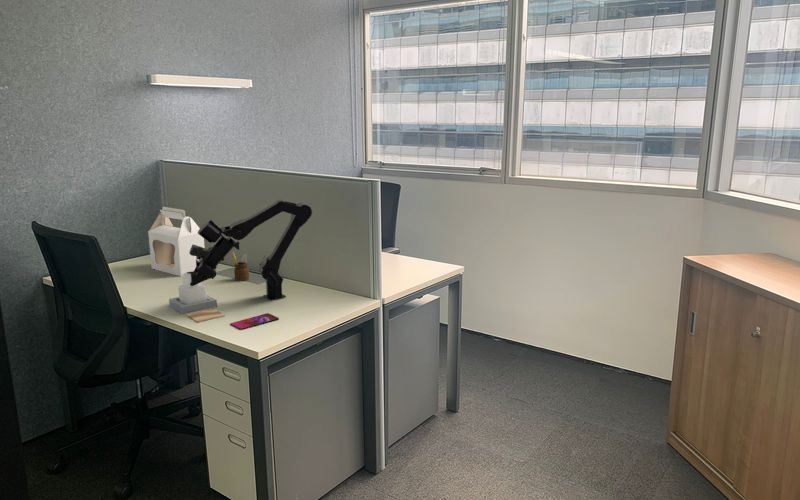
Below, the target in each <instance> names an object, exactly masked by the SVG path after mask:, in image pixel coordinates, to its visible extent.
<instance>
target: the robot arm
mask: <svg viewBox="0 0 800 500" xmlns="http://www.w3.org/2000/svg"><path fill="white" fill-rule="evenodd" d="M282 212H283V213H288V214H290V220H289V222H288V224H287V226H286V228H285V230H284V231H283V233H282V235H281V237H280V238H279V240H278V242H277V243H276V245H275V247H274V248H273V251H272V252H271V254H270V255H268V256H266V255H264V256H263V257H262V260H261V261H260V263H258V265H259V267H258V268H259V269H258V271H259V274H260V275H261V277H262V278H263V280H265V283H266V285H265V287H266V290H265V291H266V294H264V295H263V298H266V299H268V300H270V301H274V300H279V299H282V298H286V297H287V296H286V294H283V286H282V285H283V281H284V278H283V276H282V275H281V274H280V272H279V270H280V267H281V262H282V260H283V257H284V256H285V255H286V253H287V251H288V249H289V247H290V245H291V244H292V242H293V240H294V239H295V236H296V235H297V233H299V232H298V231H299V230H300V229H301V227H303V226H304V225H305V224H306V223H307V222H308V221H309V219H311V218H312V215H313V211H312V208H311V206H309V205H308V204H307V203H304V202H298V203H295V202H291V201H286V200H284V199H278V200H276V201H275V202H274V203H272V204H270V205H268V206H266V207H265V208H263V209H261V210H260V211H258V212H256V213H255V214H253V215H251V216H250V217H249V216H248V217H246V218H242V219H239V220H237V221H234V222H232V223H230V225H227V226H223V227H220V226H219V225H217V224H216V223H215V222H214V221H213V220H212V219H209V220H208V221H207V222H205V223H204V224H203V225H202V226H201V227H199V228H200V229H199V231H198V234H199V235H200V236H202V237H203V238H204V241H205V240H206V241H207V242H208V243H209V244H211V243H213V245H212V246H209V247H208V248H203V247H200V246H197V245H193V244H192V247H191V249H190V252H189V253H190V255H192V256H197V257H196V259H197V260H198V259H199V260H198V261H197V260H196V268H195V270H194V272H197V274H196V275H195V277H194V278H193V280H192V282H191V283H190V285H191V286H194V285H196V284H198V283H200V284H202V283H203V282H205V281H207V280H210V279H211V280H213V279H215V278H216V276H217V270H216V269H217V268H218V267H217V266H218V265H219V264H220V263H221V262H224V261H225V257H226V256H227V255H228V254H229V253H230V252H231V251H232V250H233V249H234V248H235V249H236V250H238V251H239V250H240V240H243V239H245V238H246V237H247V236H249V234H250V233H252V232H253V230H255V228H257V227H259V226H260V225H262V224H264V223H265V222H267V221H269V220H270V219H272V218H273V217H275V216H277V215H279V214H280V213H282Z"/></svg>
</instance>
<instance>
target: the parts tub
mask: <svg viewBox="0 0 800 500" xmlns="http://www.w3.org/2000/svg"><path fill="white" fill-rule="evenodd" d="M168 303H169V306H170V307H171V308H173V309H175V310H177V311H178V312H179V313H181V314H182V315H186V314H188V313H193V312H197V311H202V310H206V309H211V308H216V307H217V306H218V305H217V303H218V302H217V299H215V298H213V297H211V296H210V295H208V294H207V301H203V302H198V303H193V304H189V305H184V304H182V303H181V302H180V300H179V296H177V297H176V296H175V297H172V298H171V297H170V298H168ZM217 308H218V307H217Z"/></svg>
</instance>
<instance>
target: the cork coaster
mask: <svg viewBox="0 0 800 500" xmlns="http://www.w3.org/2000/svg"><path fill="white" fill-rule="evenodd" d="M185 316H186V317H188V318H190V319H191V320H193V321H194V322H196V323H201V322H206V321H210V320H214V319H218V318H223V317H226V314H224V313H223V312H220V311H219V310H218V309H215V307H213V308H208V309H204V310H199V311H195V312H190V313H186V314H185Z"/></svg>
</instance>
